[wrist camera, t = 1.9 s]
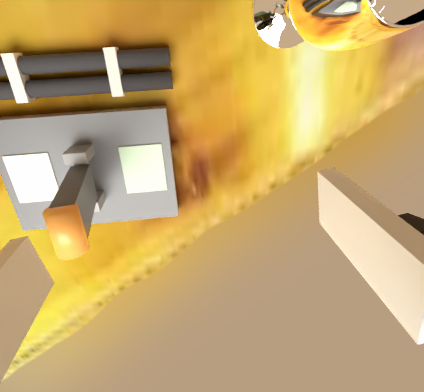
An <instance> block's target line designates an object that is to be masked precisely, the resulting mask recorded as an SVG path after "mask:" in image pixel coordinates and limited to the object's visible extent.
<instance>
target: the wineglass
mask: <svg viewBox="0 0 424 392" xmlns="http://www.w3.org/2000/svg"><path fill="white" fill-rule="evenodd" d="M252 18H253V23H254V27H255V29H256V31H257V33H258V35H259V36H260V38H261V39H262V40H263V41H264V42H265V43H266V44H268V45H269V46H271V47H274V48H277V49H289V48H292V47H295V46H297V45H299V44H301V43H302V42H304V41H306V42H308V43H309V44H311V45H312V46H314V47H317V48H320V49H323V50H328V51H344V50H353V49H358V48H362V47H365V46H368V45H371V44H374V43H377V42H379V41H382V40H385V39H388V38H390V37H393V36H395V35H398V34H400V33H402V32H404V31H407V30H409V29H411V28H414V27H416V26H418V25H421V24H423V23H424V0H254V1H253V7H252Z"/></svg>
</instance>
